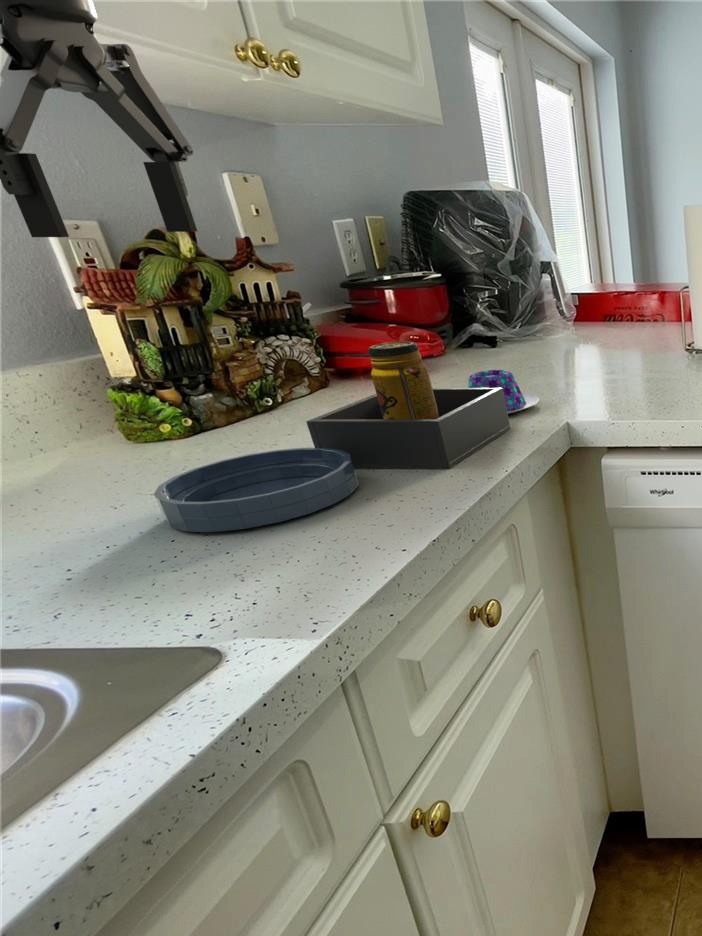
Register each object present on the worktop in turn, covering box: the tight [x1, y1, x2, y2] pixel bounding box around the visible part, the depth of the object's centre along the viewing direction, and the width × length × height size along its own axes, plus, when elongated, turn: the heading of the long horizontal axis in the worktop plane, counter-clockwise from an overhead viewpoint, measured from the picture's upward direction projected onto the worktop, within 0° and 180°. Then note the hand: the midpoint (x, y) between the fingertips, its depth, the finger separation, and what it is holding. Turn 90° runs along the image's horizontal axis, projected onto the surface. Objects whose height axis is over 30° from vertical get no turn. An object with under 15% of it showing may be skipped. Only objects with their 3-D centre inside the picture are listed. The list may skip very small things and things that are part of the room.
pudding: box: [467, 369, 540, 415], centre depth 104 cm, size 12×12×5 cm
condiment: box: [367, 341, 439, 419], centre depth 86 cm, size 7×8×12 cm
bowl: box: [153, 447, 359, 533], centre depth 72 cm, size 16×16×3 cm
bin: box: [305, 387, 512, 470], centre depth 87 cm, size 16×16×6 cm
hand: (122, 234), depth 69 cm, fingers open, 13 cm apart
